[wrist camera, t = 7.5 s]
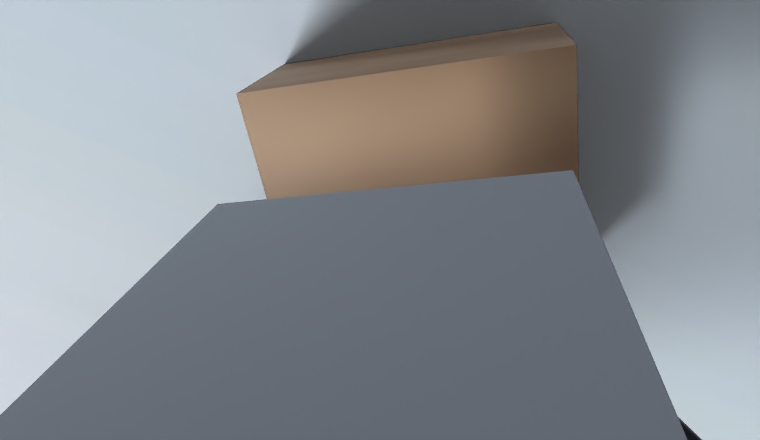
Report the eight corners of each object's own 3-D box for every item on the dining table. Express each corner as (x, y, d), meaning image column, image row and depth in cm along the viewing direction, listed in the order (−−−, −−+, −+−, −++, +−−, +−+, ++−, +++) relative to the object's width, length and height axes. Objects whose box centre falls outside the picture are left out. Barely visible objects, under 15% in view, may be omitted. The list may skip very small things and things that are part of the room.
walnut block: (563, 271, 20) (580, 340, 17) (337, 283, 22) (309, 346, 19) (557, 22, 16) (577, 45, 13) (283, 64, 18) (236, 93, 15)
